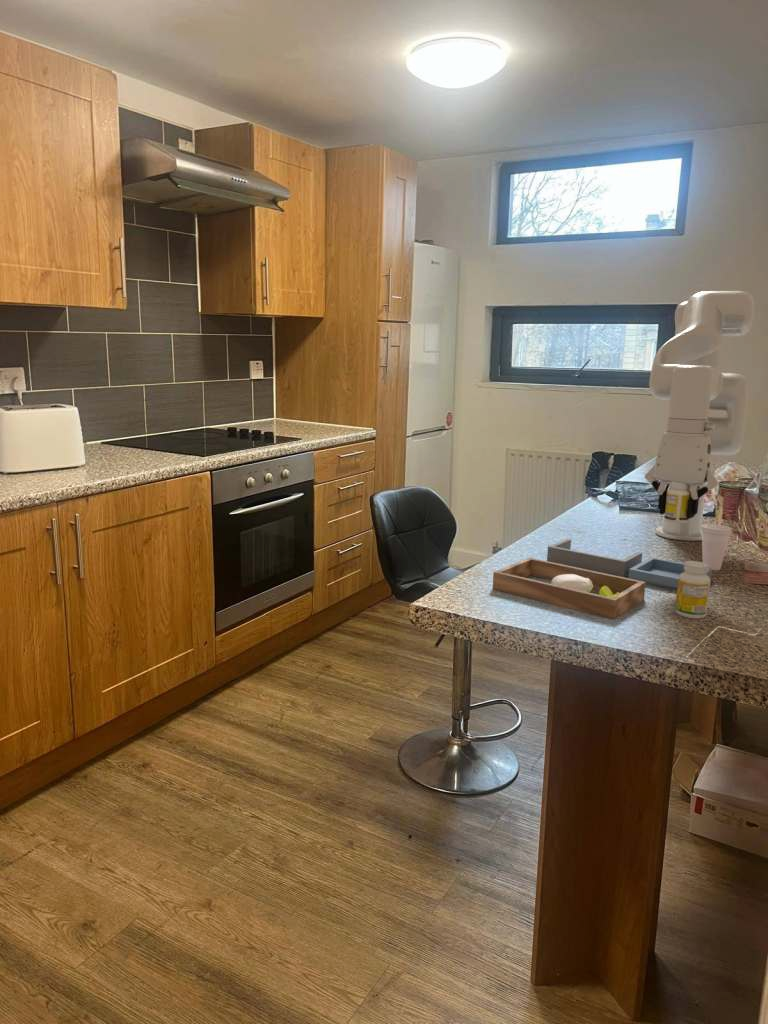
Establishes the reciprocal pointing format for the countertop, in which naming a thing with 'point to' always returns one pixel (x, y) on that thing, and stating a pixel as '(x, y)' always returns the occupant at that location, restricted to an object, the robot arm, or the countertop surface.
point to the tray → (659, 573)
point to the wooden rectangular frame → (517, 584)
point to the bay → (591, 560)
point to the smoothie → (714, 543)
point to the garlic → (573, 582)
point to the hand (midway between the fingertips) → (676, 514)
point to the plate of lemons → (606, 592)
